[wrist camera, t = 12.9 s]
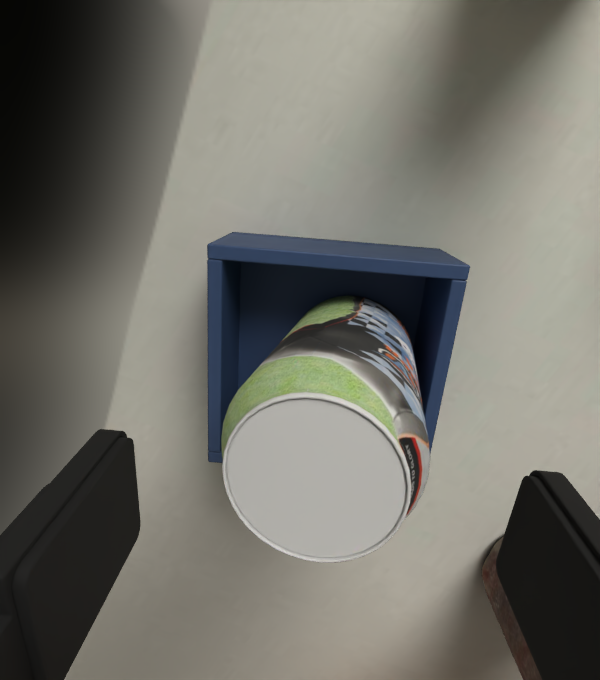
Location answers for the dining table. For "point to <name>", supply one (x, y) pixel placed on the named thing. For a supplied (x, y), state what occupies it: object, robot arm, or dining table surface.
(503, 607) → the brown cylinder
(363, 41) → the dining table surface
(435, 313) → the blue bin
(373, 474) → the beverage can
